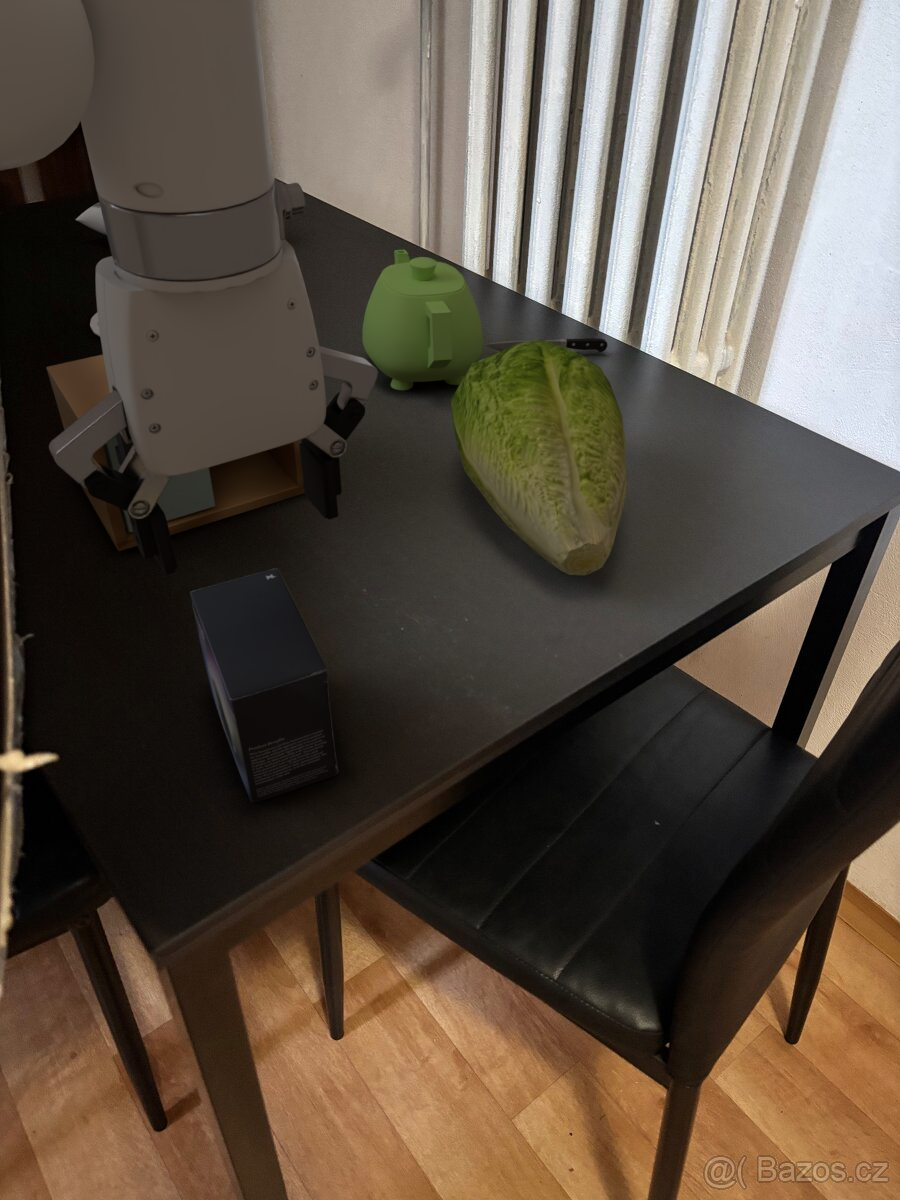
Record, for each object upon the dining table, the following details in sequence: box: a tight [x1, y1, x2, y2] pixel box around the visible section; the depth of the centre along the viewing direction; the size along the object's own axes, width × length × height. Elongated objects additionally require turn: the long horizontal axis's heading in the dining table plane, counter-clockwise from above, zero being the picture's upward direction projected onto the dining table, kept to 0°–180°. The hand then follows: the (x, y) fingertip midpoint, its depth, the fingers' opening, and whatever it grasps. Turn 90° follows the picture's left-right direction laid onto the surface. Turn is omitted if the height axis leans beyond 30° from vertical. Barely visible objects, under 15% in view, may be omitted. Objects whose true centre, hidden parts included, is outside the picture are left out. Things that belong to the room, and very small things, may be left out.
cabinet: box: [46, 354, 305, 552], centre depth 82 cm, size 18×12×12 cm, turn 122°
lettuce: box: [450, 339, 628, 576], centre depth 80 cm, size 14×24×15 cm
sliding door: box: [105, 433, 215, 532], centre depth 74 cm, size 8×4×13 cm, turn 122°
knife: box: [484, 337, 609, 353], centre depth 107 cm, size 15×1×2 cm, turn 95°
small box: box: [189, 567, 340, 804], centre depth 60 cm, size 11×6×10 cm, turn 25°
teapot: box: [361, 249, 484, 391], centre depth 101 cm, size 20×13×13 cm
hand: (245, 532), depth 52 cm, fingers open, 9 cm apart
